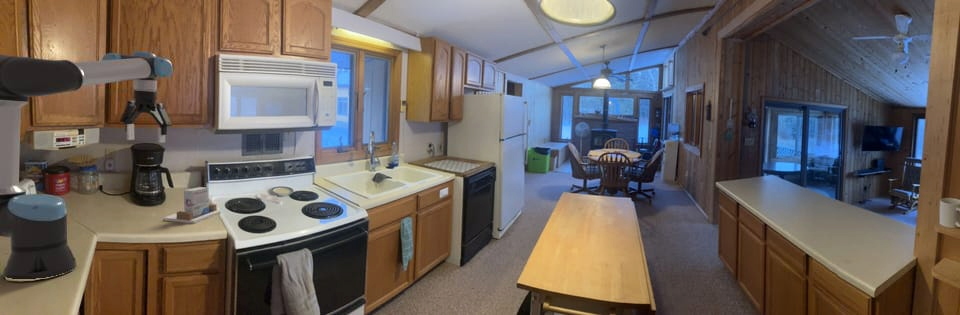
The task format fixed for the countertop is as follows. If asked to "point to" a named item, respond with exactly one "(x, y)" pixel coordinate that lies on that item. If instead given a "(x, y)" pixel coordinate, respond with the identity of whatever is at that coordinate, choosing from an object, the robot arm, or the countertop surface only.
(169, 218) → the board
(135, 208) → the countertop surface
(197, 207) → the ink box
